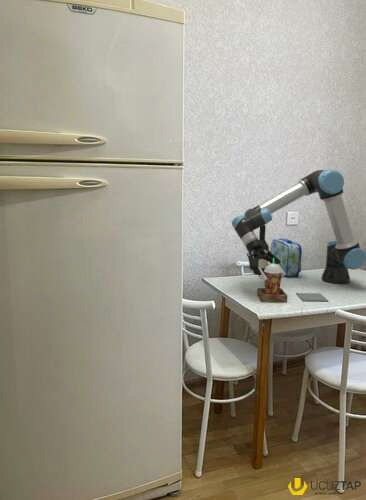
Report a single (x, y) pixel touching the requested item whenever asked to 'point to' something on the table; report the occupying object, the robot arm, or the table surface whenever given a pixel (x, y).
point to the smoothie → (272, 279)
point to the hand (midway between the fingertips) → (274, 278)
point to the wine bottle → (262, 262)
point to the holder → (271, 296)
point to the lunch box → (287, 255)
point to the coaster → (312, 297)
